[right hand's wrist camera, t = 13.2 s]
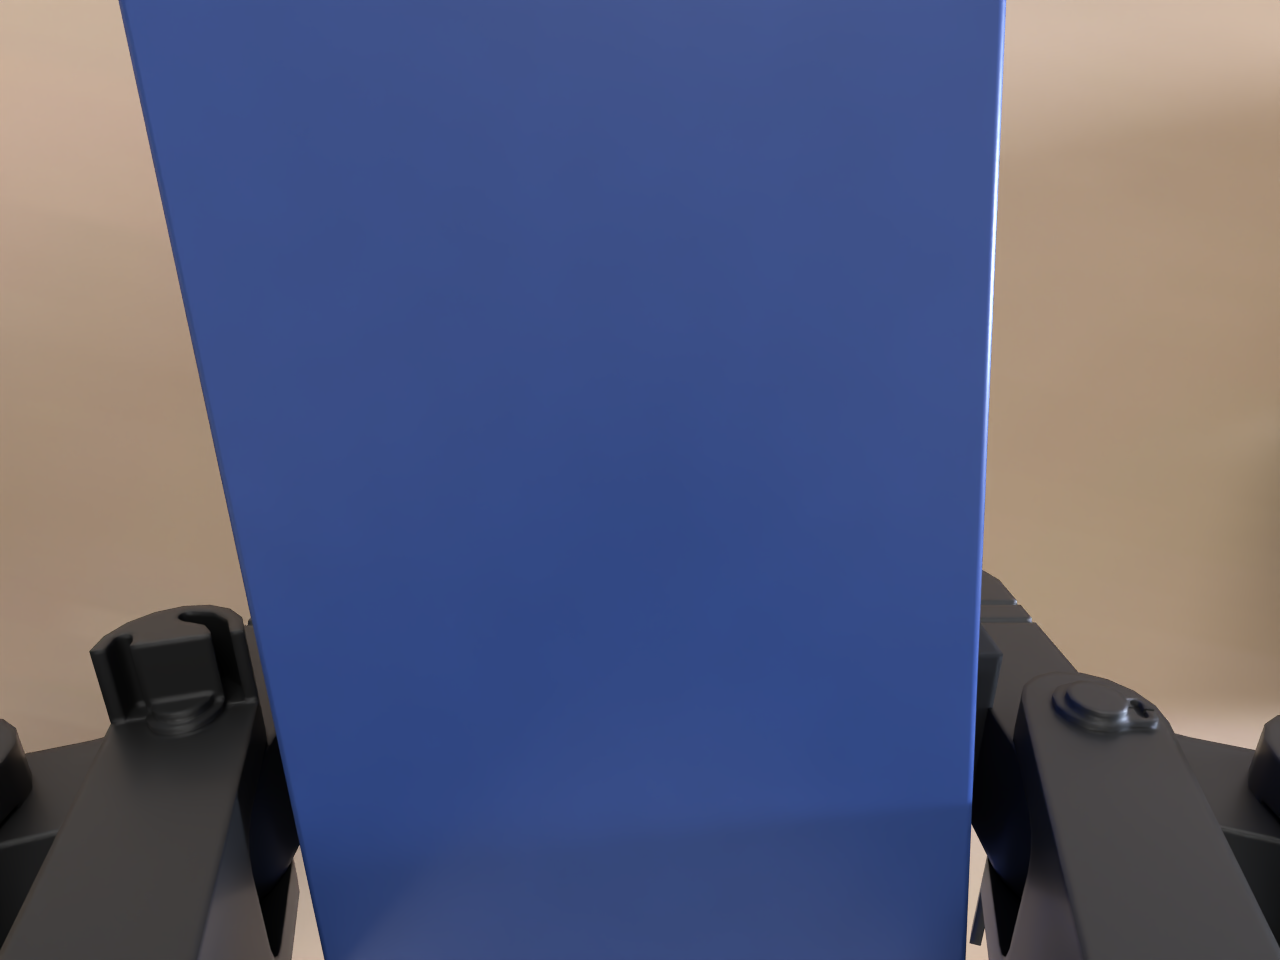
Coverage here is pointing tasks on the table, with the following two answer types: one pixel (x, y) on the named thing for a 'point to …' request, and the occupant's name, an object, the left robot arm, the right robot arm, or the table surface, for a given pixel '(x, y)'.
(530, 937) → the bar
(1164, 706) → the table surface
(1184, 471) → the table surface
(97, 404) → the table surface
